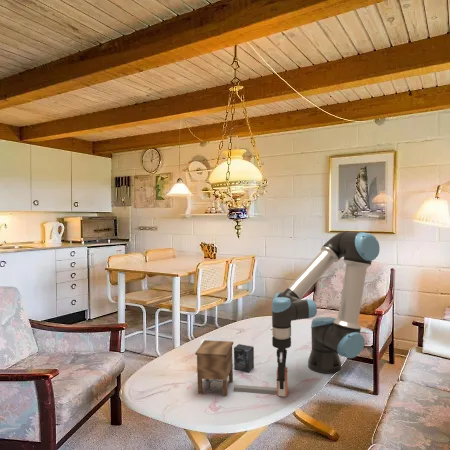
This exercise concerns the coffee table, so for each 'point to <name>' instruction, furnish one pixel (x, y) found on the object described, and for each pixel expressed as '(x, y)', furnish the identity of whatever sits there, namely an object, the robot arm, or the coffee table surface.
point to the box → (244, 358)
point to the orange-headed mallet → (262, 389)
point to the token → (216, 386)
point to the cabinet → (214, 363)
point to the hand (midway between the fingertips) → (282, 392)
